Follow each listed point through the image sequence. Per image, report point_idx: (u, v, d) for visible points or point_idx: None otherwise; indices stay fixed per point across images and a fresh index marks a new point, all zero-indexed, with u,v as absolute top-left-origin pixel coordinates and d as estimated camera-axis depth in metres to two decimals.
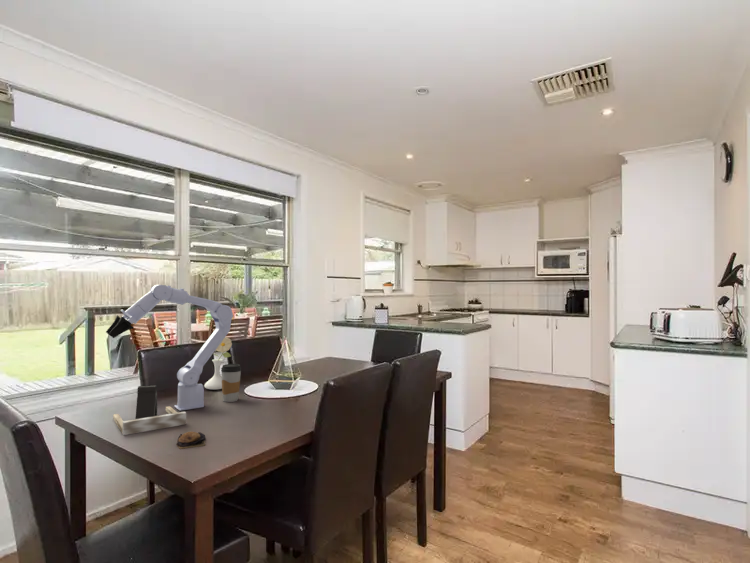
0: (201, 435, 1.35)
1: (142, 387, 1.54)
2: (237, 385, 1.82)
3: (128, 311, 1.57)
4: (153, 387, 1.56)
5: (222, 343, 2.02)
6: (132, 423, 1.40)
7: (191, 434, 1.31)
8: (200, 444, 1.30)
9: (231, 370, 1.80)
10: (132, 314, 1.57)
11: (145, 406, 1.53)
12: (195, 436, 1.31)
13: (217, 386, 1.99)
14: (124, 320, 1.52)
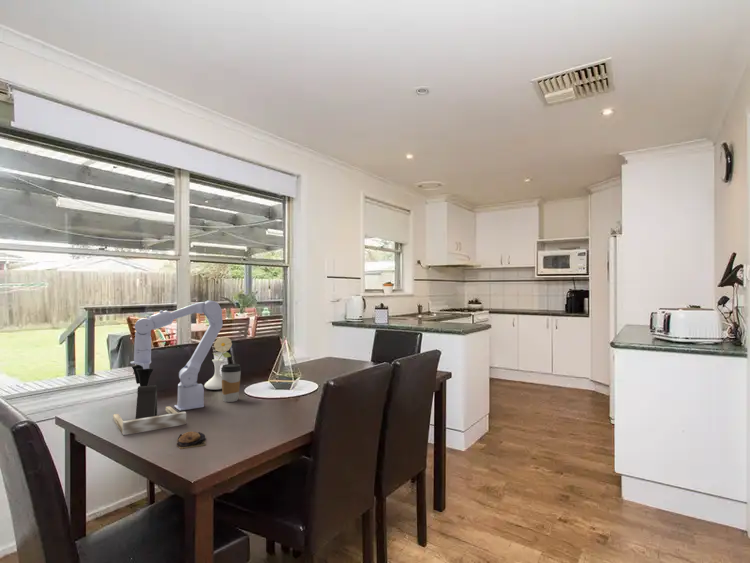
0: (201, 435, 1.35)
1: (142, 387, 1.54)
2: (237, 385, 1.82)
3: (136, 360, 1.61)
4: (153, 387, 1.56)
5: (222, 343, 2.02)
6: (132, 423, 1.40)
7: (191, 434, 1.31)
8: (200, 444, 1.30)
9: (231, 370, 1.80)
10: (141, 360, 1.61)
11: (145, 406, 1.53)
12: (195, 436, 1.31)
13: (217, 386, 1.99)
14: (141, 370, 1.58)
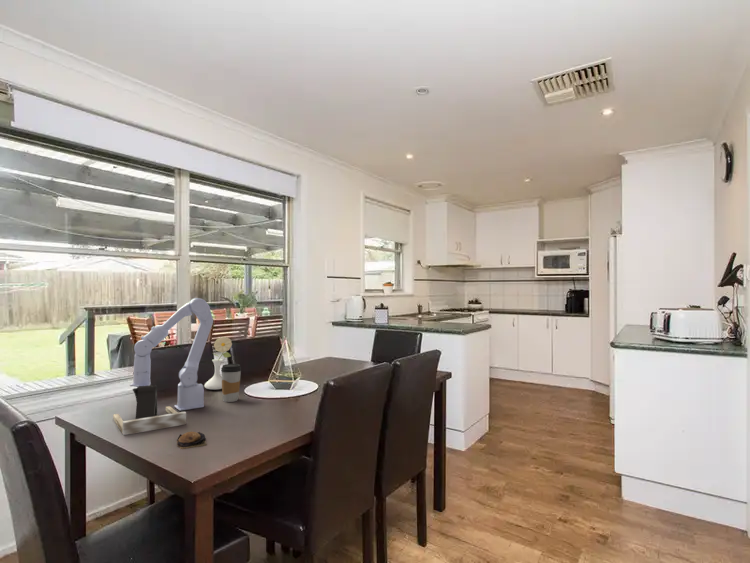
0: (201, 435, 1.36)
1: (142, 387, 1.54)
2: (237, 385, 1.82)
3: (136, 382, 1.61)
4: (153, 387, 1.56)
5: (222, 343, 2.02)
6: (132, 423, 1.40)
7: (192, 434, 1.31)
8: (201, 444, 1.31)
9: (231, 370, 1.80)
10: (141, 382, 1.61)
11: (145, 406, 1.53)
12: (196, 436, 1.31)
13: (217, 386, 1.99)
14: None
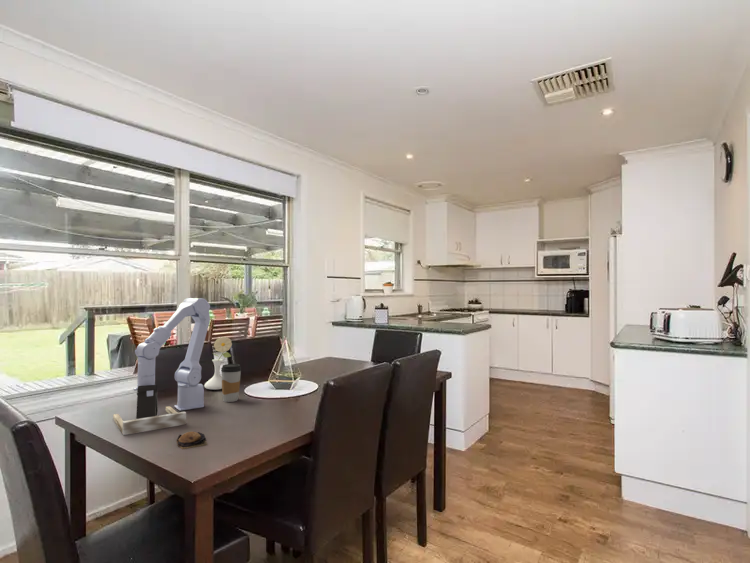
0: (201, 435, 1.36)
1: (142, 387, 1.52)
2: (237, 385, 1.82)
3: None
4: (153, 387, 1.53)
5: (222, 343, 2.02)
6: (132, 423, 1.40)
7: (192, 434, 1.31)
8: (202, 444, 1.31)
9: (231, 370, 1.80)
10: None
11: (145, 407, 1.51)
12: (196, 436, 1.31)
13: (217, 386, 1.99)
14: None
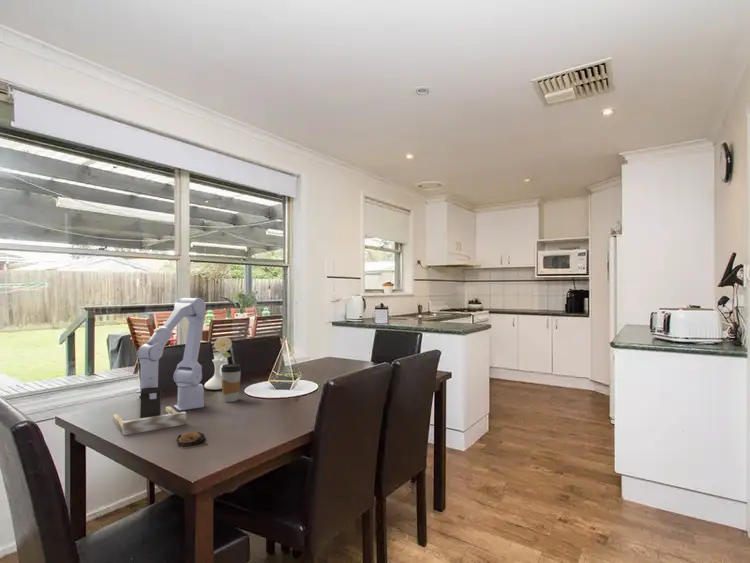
0: (201, 435, 1.36)
1: (145, 390, 1.48)
2: (237, 385, 1.82)
3: None
4: (157, 390, 1.49)
5: (222, 343, 2.02)
6: (132, 423, 1.40)
7: (192, 434, 1.31)
8: (202, 443, 1.31)
9: (231, 370, 1.80)
10: None
11: (149, 409, 1.48)
12: (197, 436, 1.31)
13: (217, 386, 1.99)
14: None
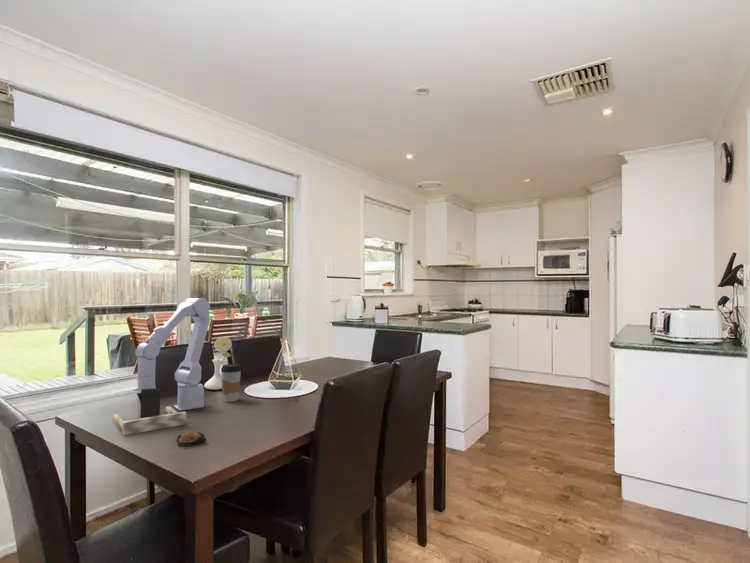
0: (201, 435, 1.36)
1: (146, 390, 1.50)
2: (237, 385, 1.82)
3: (140, 386, 1.55)
4: (157, 390, 1.51)
5: (222, 343, 2.02)
6: (132, 423, 1.40)
7: (193, 434, 1.32)
8: (203, 443, 1.31)
9: (231, 370, 1.80)
10: (145, 386, 1.55)
11: (150, 410, 1.49)
12: (197, 436, 1.31)
13: (217, 386, 1.99)
14: None
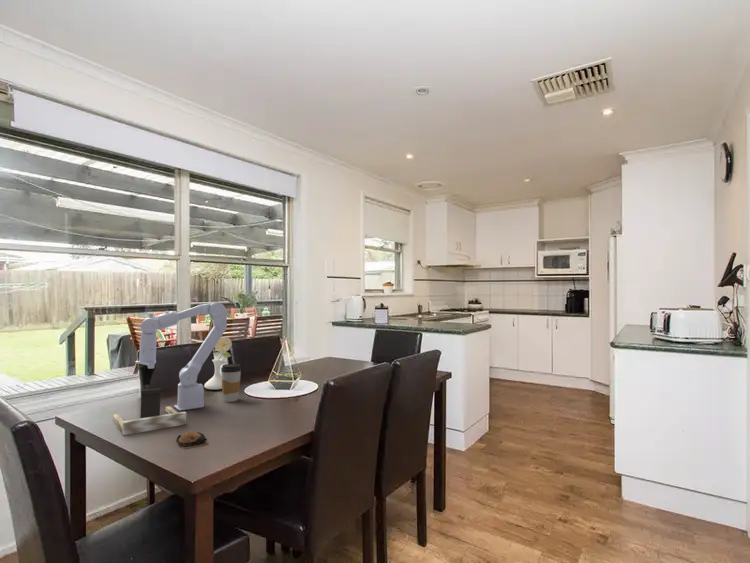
0: (200, 435, 1.36)
1: (146, 390, 1.50)
2: (237, 385, 1.82)
3: (141, 359, 1.62)
4: (157, 390, 1.51)
5: (222, 343, 2.02)
6: (132, 423, 1.40)
7: (193, 434, 1.32)
8: (203, 443, 1.31)
9: (231, 370, 1.80)
10: (147, 359, 1.62)
11: (150, 410, 1.49)
12: (198, 436, 1.31)
13: (217, 386, 1.99)
14: (144, 368, 1.62)
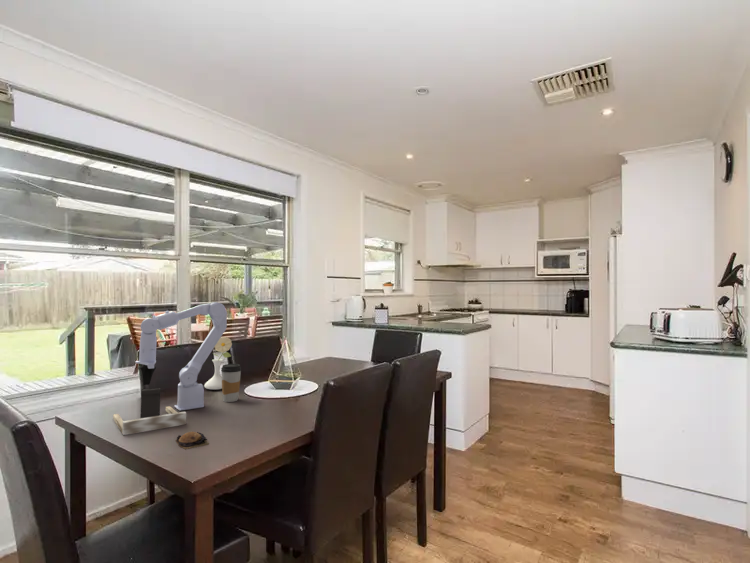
0: (200, 435, 1.36)
1: (146, 390, 1.50)
2: (237, 385, 1.82)
3: (141, 359, 1.62)
4: (157, 390, 1.51)
5: (222, 343, 2.02)
6: (132, 423, 1.40)
7: (193, 434, 1.32)
8: (204, 443, 1.31)
9: (231, 370, 1.80)
10: (147, 359, 1.62)
11: (150, 410, 1.49)
12: (198, 436, 1.32)
13: (217, 386, 1.99)
14: (144, 368, 1.62)
